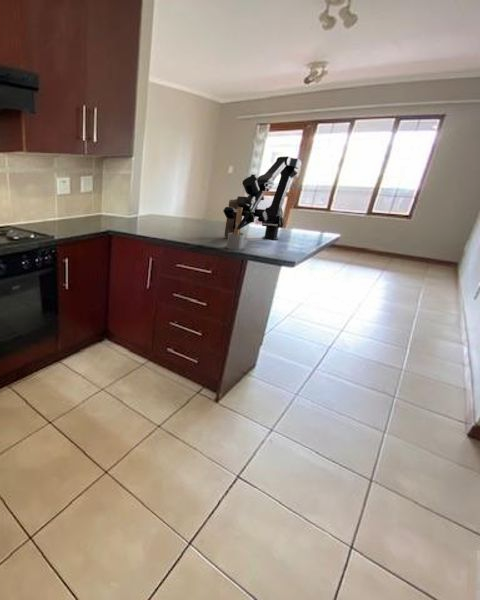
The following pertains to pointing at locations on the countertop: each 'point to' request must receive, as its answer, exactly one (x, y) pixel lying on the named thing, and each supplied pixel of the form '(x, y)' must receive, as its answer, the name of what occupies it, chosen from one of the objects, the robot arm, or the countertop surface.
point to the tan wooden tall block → (230, 221)
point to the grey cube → (235, 241)
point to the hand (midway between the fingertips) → (235, 228)
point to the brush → (238, 220)
